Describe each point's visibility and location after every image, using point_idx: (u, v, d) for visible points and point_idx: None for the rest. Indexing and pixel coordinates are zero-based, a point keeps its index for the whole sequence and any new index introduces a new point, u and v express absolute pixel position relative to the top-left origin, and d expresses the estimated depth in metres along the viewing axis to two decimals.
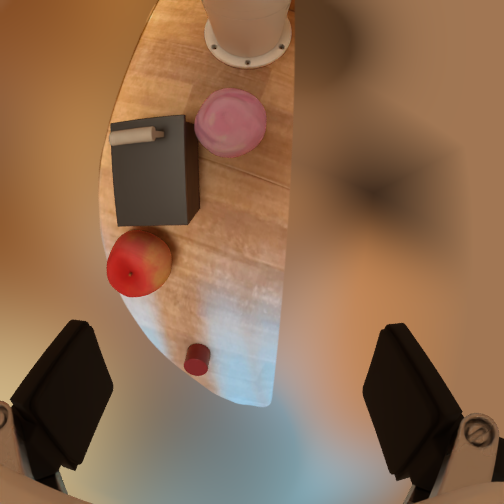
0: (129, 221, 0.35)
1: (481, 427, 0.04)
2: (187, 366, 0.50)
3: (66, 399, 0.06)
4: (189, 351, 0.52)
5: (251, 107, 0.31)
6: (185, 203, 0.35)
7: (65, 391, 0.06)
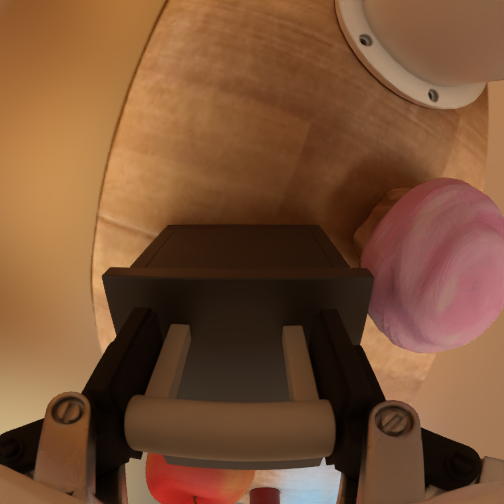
0: (193, 463, 0.14)
1: (396, 414, 0.05)
2: None
3: (139, 384, 0.07)
4: (255, 499, 0.31)
5: None
6: None
7: (138, 376, 0.07)
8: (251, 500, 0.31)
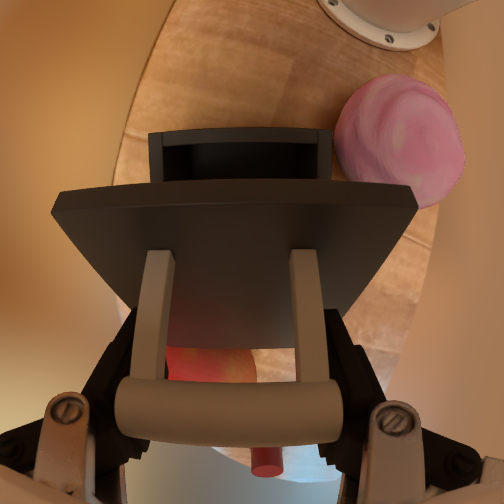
0: (194, 345, 0.17)
1: (396, 414, 0.05)
2: (256, 471, 0.32)
3: None
4: (257, 452, 0.34)
5: (454, 124, 0.13)
6: None
7: None
8: (253, 454, 0.34)
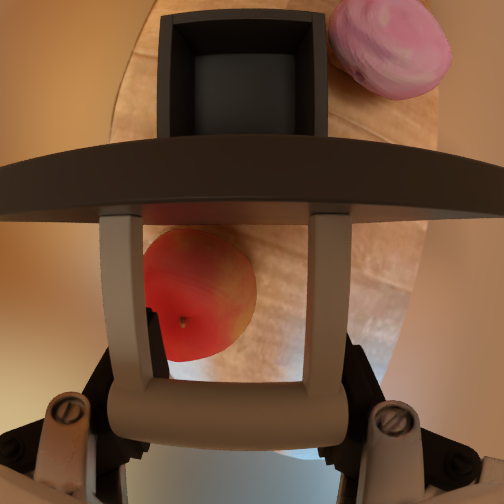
0: None
1: (395, 414, 0.05)
2: None
3: None
4: None
5: (436, 21, 0.11)
6: None
7: None
8: None
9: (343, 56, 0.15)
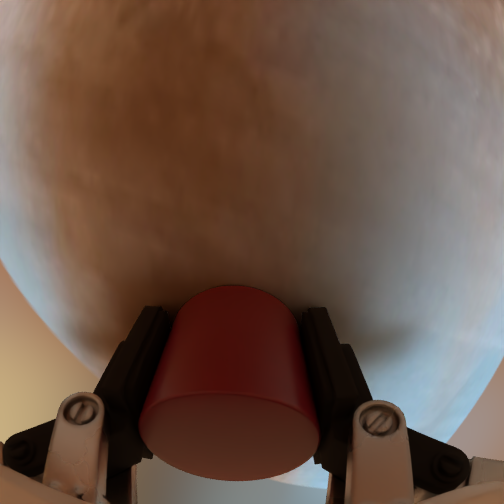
0: None
1: (380, 414, 0.05)
2: (165, 440, 0.06)
3: None
4: (179, 332, 0.08)
5: None
6: None
7: (151, 375, 0.07)
8: (163, 351, 0.08)
9: None
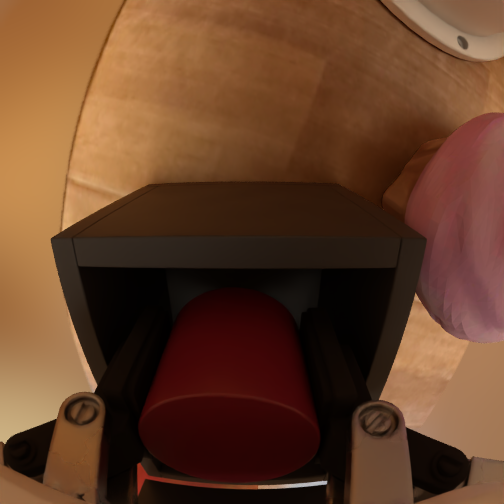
0: None
1: (379, 414, 0.05)
2: (165, 442, 0.06)
3: None
4: (179, 334, 0.08)
5: None
6: None
7: (151, 375, 0.07)
8: (163, 353, 0.08)
9: (424, 295, 0.09)
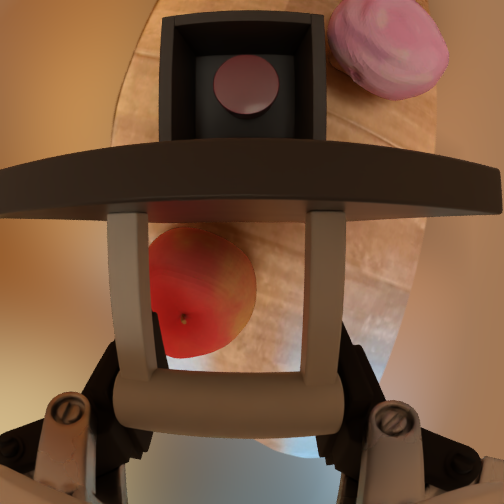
0: (188, 222, 0.16)
1: (395, 414, 0.05)
2: (223, 82, 0.17)
3: None
4: None
5: (433, 22, 0.12)
6: None
7: None
8: None
9: (341, 57, 0.15)
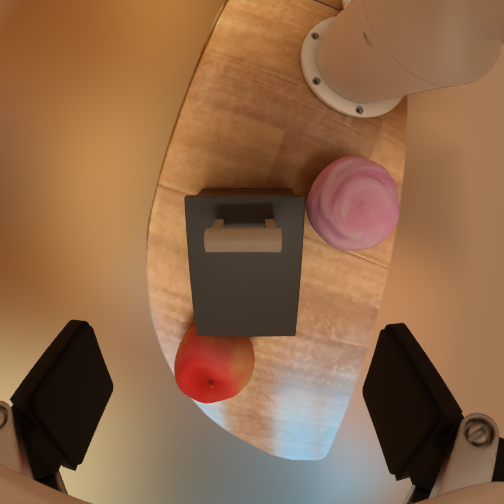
0: (214, 331, 0.28)
1: (481, 427, 0.04)
2: None
3: (66, 399, 0.06)
4: None
5: (391, 193, 0.23)
6: (296, 312, 0.27)
7: (65, 391, 0.06)
8: None
9: (314, 228, 0.26)
